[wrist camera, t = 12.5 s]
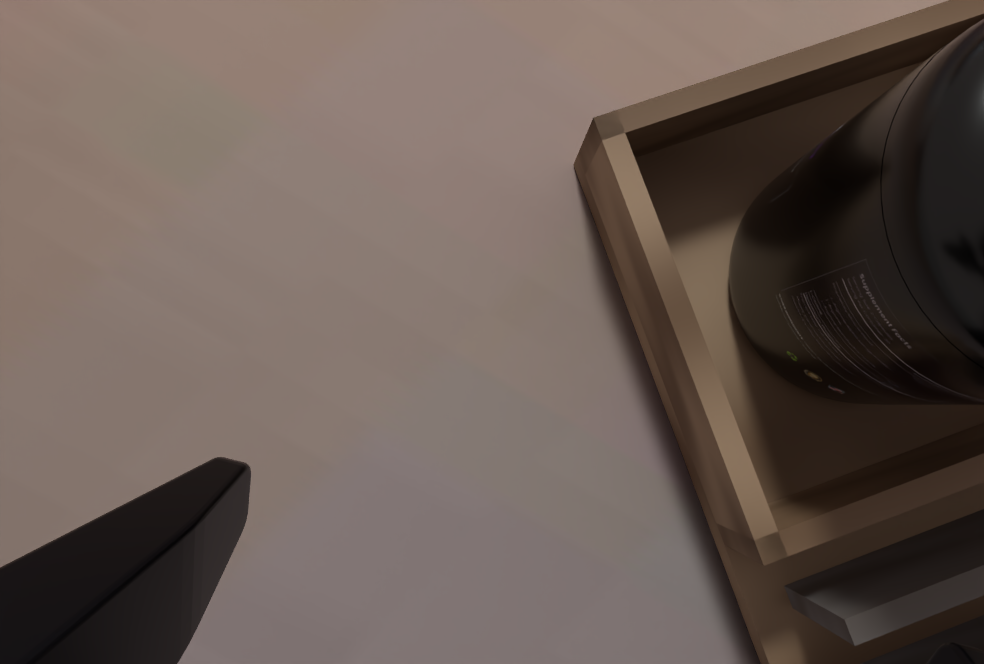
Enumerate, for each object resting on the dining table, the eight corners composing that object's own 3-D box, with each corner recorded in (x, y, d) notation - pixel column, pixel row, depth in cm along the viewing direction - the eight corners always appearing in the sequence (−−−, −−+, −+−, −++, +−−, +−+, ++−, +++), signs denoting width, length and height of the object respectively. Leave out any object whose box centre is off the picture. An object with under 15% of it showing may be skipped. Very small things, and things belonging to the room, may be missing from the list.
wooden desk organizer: (1209, 708, 19) (1388, 780, 16) (835, 863, 19) (929, 978, 15) (923, 47, 21) (1022, -32, 17) (573, 164, 20) (597, 109, 17)
